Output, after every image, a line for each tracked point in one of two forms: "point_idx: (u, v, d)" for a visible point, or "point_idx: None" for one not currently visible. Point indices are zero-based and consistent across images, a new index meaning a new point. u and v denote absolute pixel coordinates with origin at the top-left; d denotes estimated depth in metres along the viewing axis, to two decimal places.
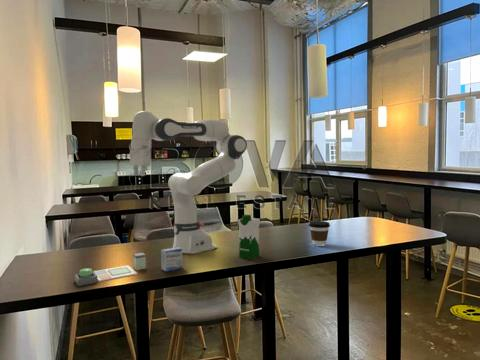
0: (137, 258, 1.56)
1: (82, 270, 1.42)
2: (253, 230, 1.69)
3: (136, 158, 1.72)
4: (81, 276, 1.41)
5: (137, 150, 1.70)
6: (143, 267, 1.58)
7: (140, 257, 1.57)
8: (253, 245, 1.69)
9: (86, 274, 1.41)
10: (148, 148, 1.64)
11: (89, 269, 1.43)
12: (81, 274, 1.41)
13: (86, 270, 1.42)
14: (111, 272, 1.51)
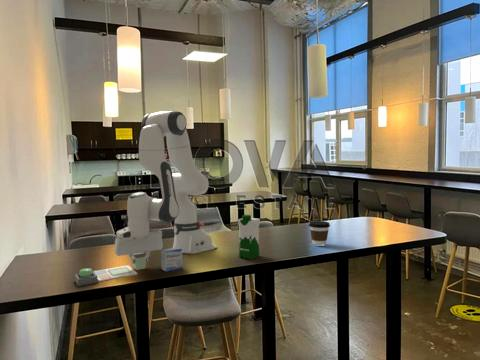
0: (137, 258, 1.56)
1: (82, 270, 1.42)
2: (253, 230, 1.69)
3: (140, 245, 1.57)
4: (81, 276, 1.41)
5: (145, 236, 1.57)
6: (143, 267, 1.58)
7: (140, 257, 1.57)
8: (253, 245, 1.69)
9: (86, 274, 1.41)
10: None
11: (89, 269, 1.43)
12: (81, 274, 1.41)
13: (86, 270, 1.42)
14: (111, 272, 1.51)
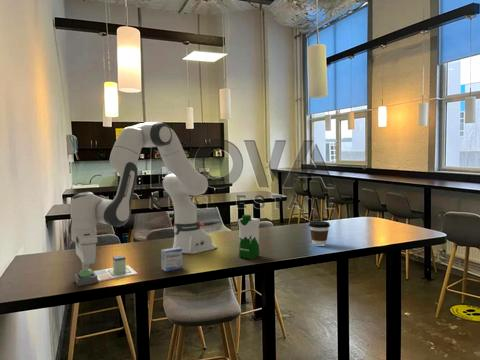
0: (116, 261, 1.50)
1: (82, 270, 1.42)
2: (253, 230, 1.69)
3: None
4: (81, 276, 1.41)
5: None
6: (123, 270, 1.52)
7: (119, 260, 1.51)
8: (253, 245, 1.69)
9: (86, 274, 1.41)
10: None
11: (89, 269, 1.43)
12: (81, 274, 1.41)
13: None
14: (111, 272, 1.51)
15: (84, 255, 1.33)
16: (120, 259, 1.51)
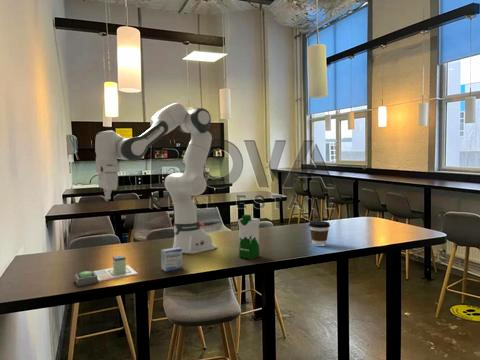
0: (116, 261, 1.50)
1: (82, 273, 1.42)
2: (253, 230, 1.69)
3: None
4: None
5: None
6: (123, 270, 1.52)
7: (119, 260, 1.51)
8: (253, 245, 1.69)
9: None
10: None
11: (89, 272, 1.43)
12: (81, 277, 1.41)
13: (86, 273, 1.42)
14: (111, 272, 1.51)
15: (108, 181, 1.54)
16: (120, 259, 1.51)
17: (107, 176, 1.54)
